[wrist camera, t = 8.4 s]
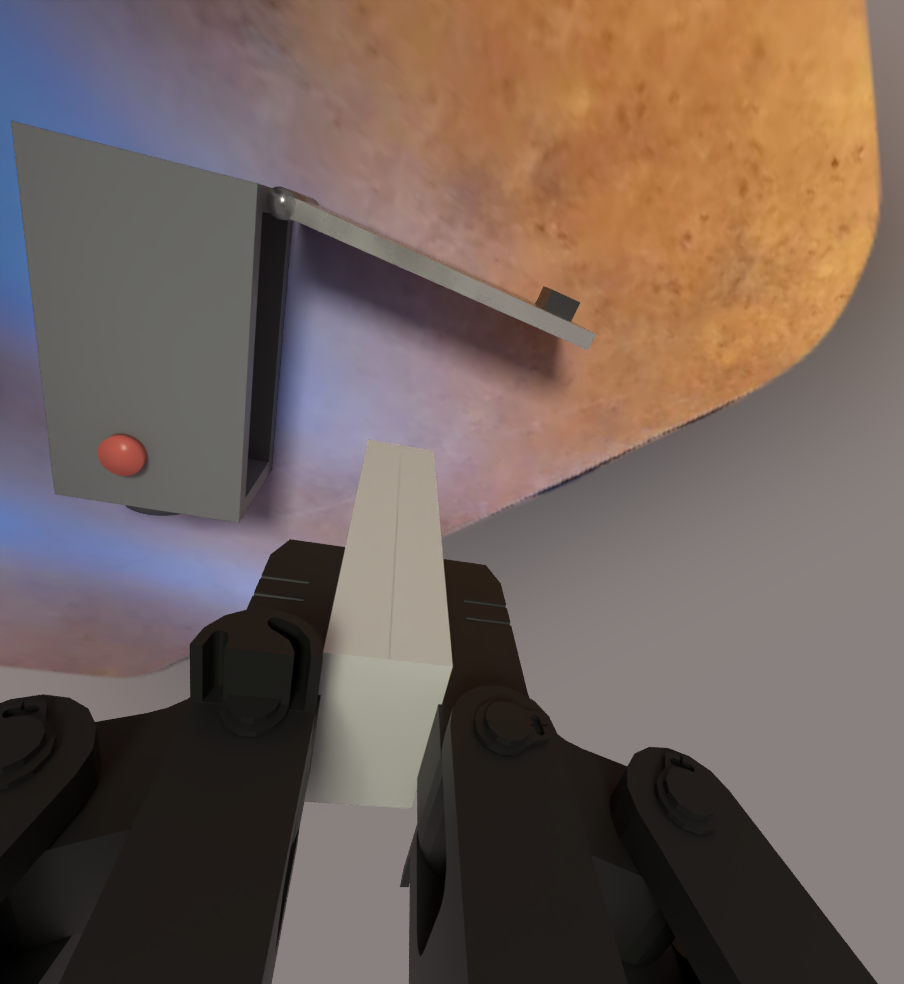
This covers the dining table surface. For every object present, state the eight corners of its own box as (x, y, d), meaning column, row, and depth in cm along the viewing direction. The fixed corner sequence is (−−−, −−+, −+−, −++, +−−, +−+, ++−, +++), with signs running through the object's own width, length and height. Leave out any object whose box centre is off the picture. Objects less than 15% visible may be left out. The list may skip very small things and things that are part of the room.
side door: (295, 217, 27) (263, 212, 21) (305, 176, 26) (274, 160, 21) (554, 332, 31) (585, 353, 25) (569, 299, 30) (606, 313, 24)
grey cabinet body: (109, 149, 26) (-1, 117, 19) (294, 195, 27) (253, 182, 20) (125, 458, 33) (49, 516, 26) (270, 483, 34) (234, 544, 27)
